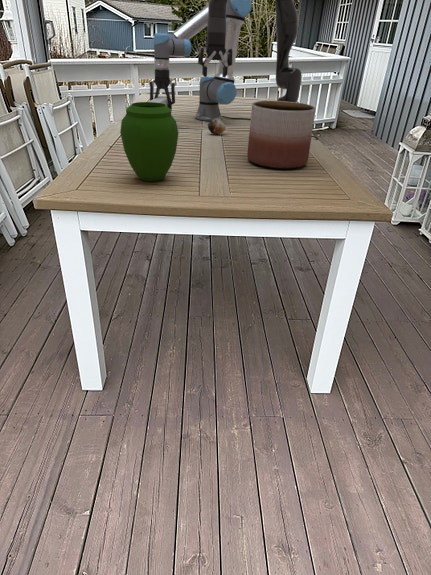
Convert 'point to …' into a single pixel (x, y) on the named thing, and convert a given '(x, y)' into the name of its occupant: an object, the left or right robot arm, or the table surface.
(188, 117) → the table surface
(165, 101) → the box
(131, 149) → the vase
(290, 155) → the planter
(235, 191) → the table surface
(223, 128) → the seashell
